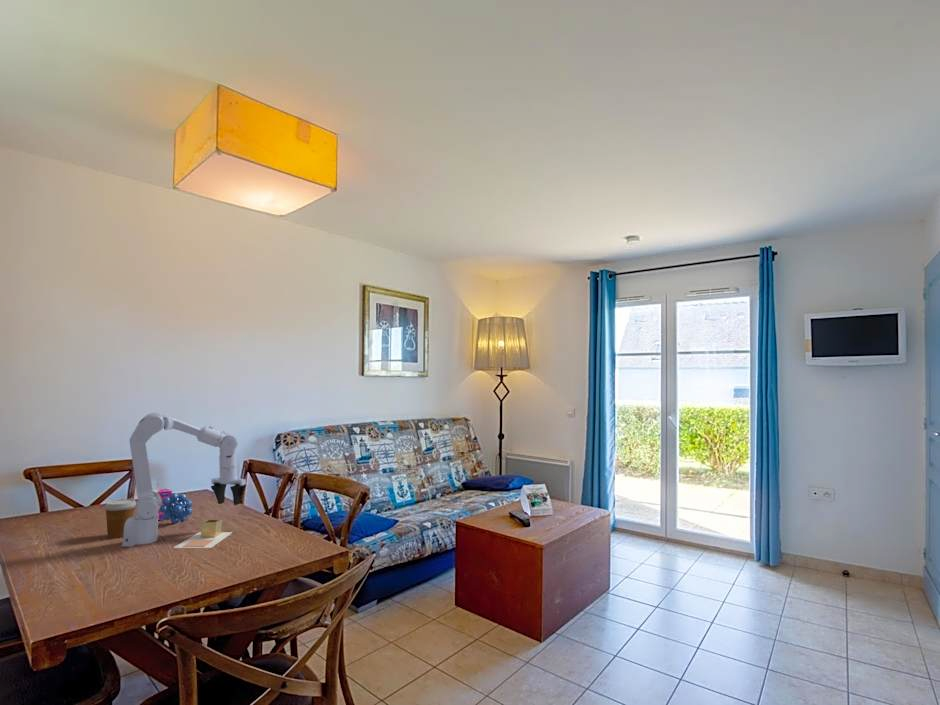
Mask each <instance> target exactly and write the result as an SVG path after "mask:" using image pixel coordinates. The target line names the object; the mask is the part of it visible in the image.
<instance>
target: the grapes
mask: <svg viewBox="0 0 940 705" xmlns="http://www.w3.org/2000/svg"><path fill="white" fill-rule="evenodd" d="M163 504H165V505H162V506H160V511H161V512H163V513H164V514H163V518H164V519H165V520H166V521H169V520H170V523H172V524H178V523H179V522H186V521H187V520H188V516H191V515H193V512H194V511H193V509H192V506H193V504H194V503H193V501H192V500H191V499H188V497H187V494H186V493H181V494H178V493H176V492H172V494H171V495H170V498H169V497H165V498H163ZM165 520H164V521H165Z"/></svg>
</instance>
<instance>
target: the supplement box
mask: <svg viewBox="0 0 940 705" xmlns="http://www.w3.org/2000/svg"><path fill="white" fill-rule="evenodd" d="M152 490H153V495H154V496H155V497H156V499H157V503H158V511H157V513H158V514H159V519H158V520H160V521H165V520H164V518H163V514H164V513H163V512H161V511H160V506H162V505H165V504H163V498H165V497H169V498H170V495H171V494H172V493H173V490H170V489H167V488H161V489H152Z"/></svg>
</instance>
